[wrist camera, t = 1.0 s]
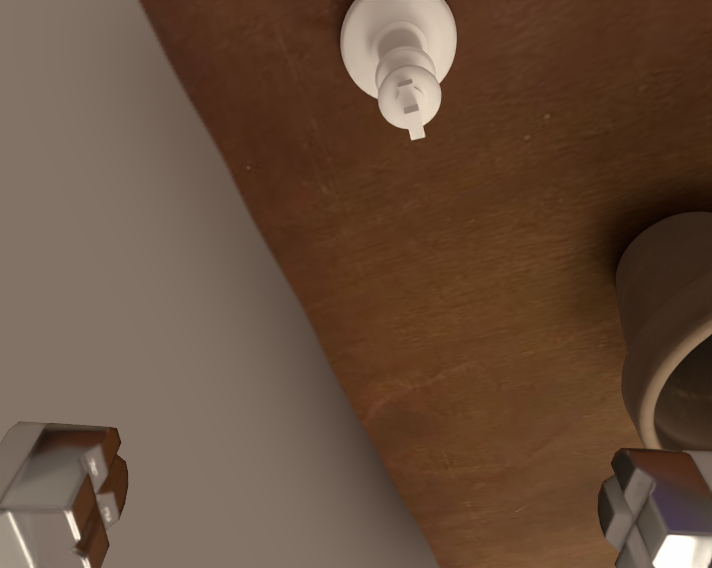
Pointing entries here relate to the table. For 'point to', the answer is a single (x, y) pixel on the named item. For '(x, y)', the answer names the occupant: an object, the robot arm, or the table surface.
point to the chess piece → (400, 56)
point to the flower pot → (669, 332)
